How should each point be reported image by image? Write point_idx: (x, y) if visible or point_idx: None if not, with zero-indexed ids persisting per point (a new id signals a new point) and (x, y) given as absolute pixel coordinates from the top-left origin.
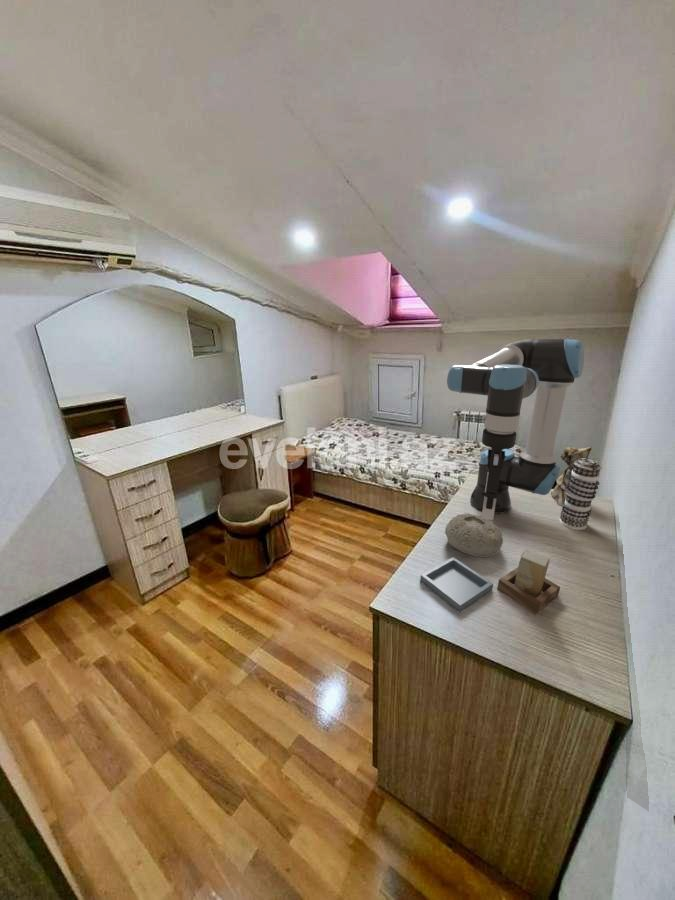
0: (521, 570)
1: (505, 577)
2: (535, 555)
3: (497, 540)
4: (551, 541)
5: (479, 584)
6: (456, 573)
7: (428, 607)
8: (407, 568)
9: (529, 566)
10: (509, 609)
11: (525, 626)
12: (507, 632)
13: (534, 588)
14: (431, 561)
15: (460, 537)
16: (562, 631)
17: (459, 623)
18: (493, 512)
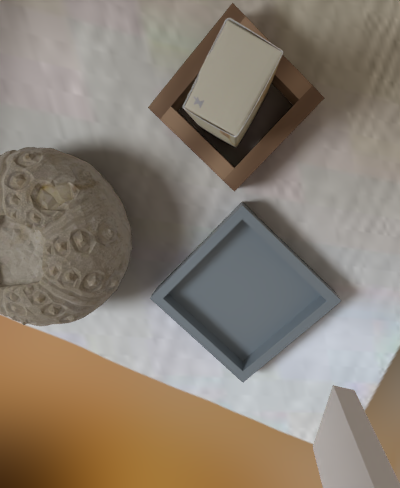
0: (242, 132)
1: (221, 170)
2: (218, 75)
3: (73, 176)
4: None
5: (231, 233)
6: (199, 286)
7: (326, 356)
8: (200, 394)
9: (255, 108)
10: (305, 169)
11: (359, 140)
12: (384, 189)
13: (265, 94)
14: (159, 339)
15: (94, 296)
16: (365, 45)
17: (368, 294)
18: (376, 442)
